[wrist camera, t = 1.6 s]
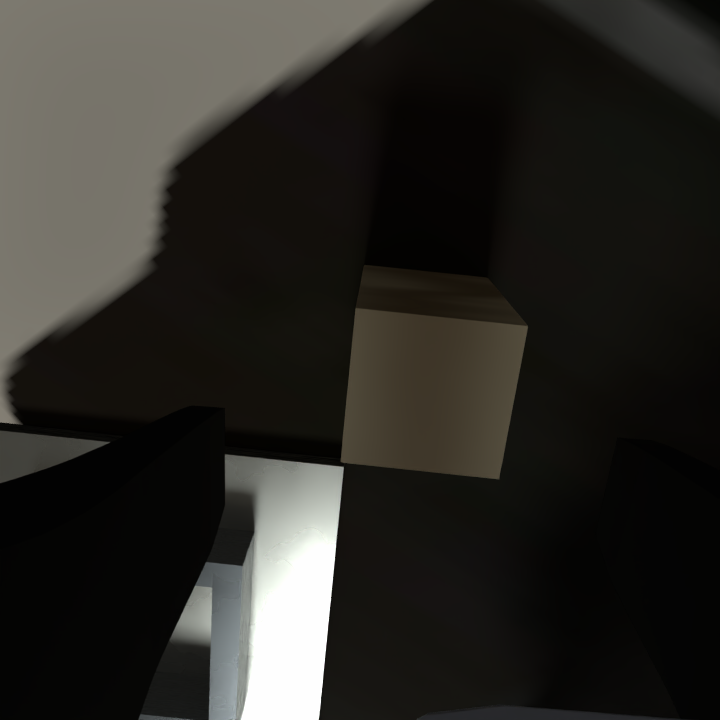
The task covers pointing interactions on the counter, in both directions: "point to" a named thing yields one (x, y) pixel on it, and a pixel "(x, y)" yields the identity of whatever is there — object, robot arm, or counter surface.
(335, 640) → the counter surface
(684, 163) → the counter surface
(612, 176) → the counter surface
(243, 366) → the counter surface
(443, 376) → the beige rectangular block
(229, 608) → the socket plate
